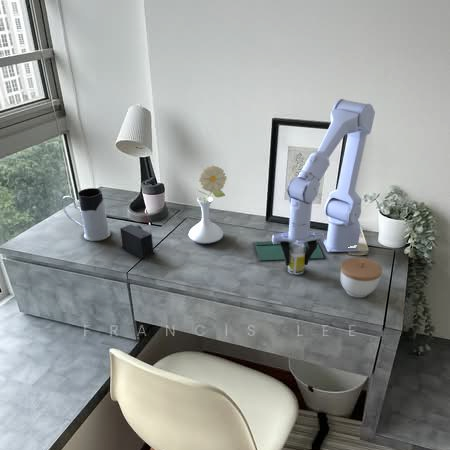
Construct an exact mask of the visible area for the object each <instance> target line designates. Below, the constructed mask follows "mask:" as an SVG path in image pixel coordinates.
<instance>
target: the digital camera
mask: <svg viewBox="0 0 450 450" xmlns="http://www.w3.org/2000/svg"><path fill="white" fill-rule="evenodd" d="M120 236H121V244H122V249H125V250H126V251H128V252H130V253H132V254H133V255H136V256H138V257H140V258H142V259H145V258H148V257H150V256H152V255H154V245H153V234H152V232H151V233H150V232H149V231H146V230H144V228H142V227H141V225H138V224H136V225H134V224H132V223H130V224H127V225H125V226H123V227H120Z"/></svg>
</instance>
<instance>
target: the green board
mask: <svg viewBox="0 0 450 450" xmlns="http://www.w3.org/2000/svg"><path fill="white" fill-rule="evenodd" d="M292 243H295V242H289V244H290V245H289V246H290V248H291V244H292ZM316 243H317V248H316V249H315V251H314V252H313V253H312V255H311V257H310V259H309V260H324V259H325V256H324V254H323V252H322V249H321V247H320V245H319V241H317V242H316ZM254 244H255V249H256V253H257V257H258V261H259V262H269V261H270V262H271V261H272V262H273V261H285V256H284V252H283V250H282V248H281V245H280V243H277V244H273V242H272V240H271V241H255V242H254ZM304 245H305V243H304ZM304 251H305V250H304Z"/></svg>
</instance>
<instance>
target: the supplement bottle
mask: <svg viewBox="0 0 450 450" xmlns="http://www.w3.org/2000/svg"><path fill="white" fill-rule="evenodd" d="M304 250H305V245H304V244H297V243H292V244H291V248H290V253H289V266H287V271H288V273H289V274H292V275H302V274H304V272H305V266H306V265H305V254H306V253H305V251H304Z"/></svg>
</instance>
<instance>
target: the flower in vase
mask: <svg viewBox="0 0 450 450" xmlns="http://www.w3.org/2000/svg"><path fill="white" fill-rule="evenodd" d="M224 171H225V170H224V169H223V168H222V167H219V166H216V165H211V166H207V167H206V168H204V169H202V171H201V173H200V175H199V176H200V177H199V178H198V179H199V180H198V182H199V183H200V186H201V188H202V190H204V191H206V192H209V194H207V193H205V192H204V191H201V190H199V189H197V192H199V193H201V194H203V195H205V196H203V195H202V196H199V197H197V198H196V201H197V202H198V204H199V206H200V209H201V220H200V221H199V222H198V223H197V224H195V225H194V226H193V227H192V228H191V229H189V232H188V237H189V238H190V240H192V241H193V242H195V243H199V244H212V243H216V242H218V241H220V240H221V239H222V238H223V237H224V231H223V229H222V228H221V227H220V226H218V225H217V224H216V223H214V222H212V221H211V219H210V206H211V204H212V203H213V201H214V199H213V197H211V194H213V196H214V197H215V198H222V197H225V196H226V194H225V193H224V192H223V190H222V189H224V187H225V184H226V181H227V178H228V177H227V176H226V173H225V172H224Z"/></svg>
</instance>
